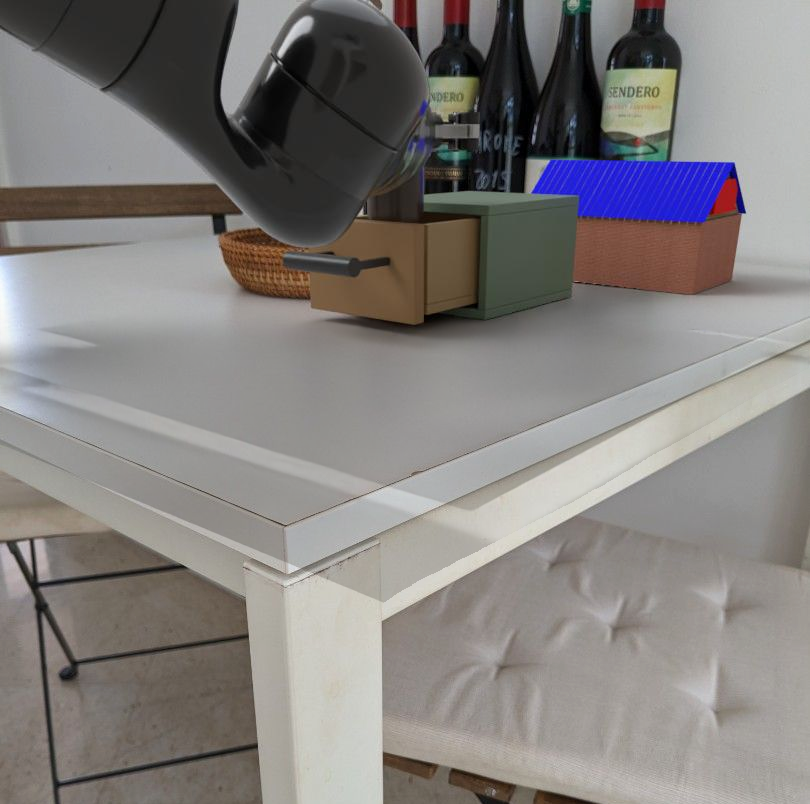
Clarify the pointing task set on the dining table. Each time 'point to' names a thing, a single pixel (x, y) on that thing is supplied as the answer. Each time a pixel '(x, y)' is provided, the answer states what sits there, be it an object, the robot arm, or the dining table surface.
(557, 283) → the cabinet
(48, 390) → the dining table surface
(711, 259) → the house
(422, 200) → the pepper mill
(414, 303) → the drawer
